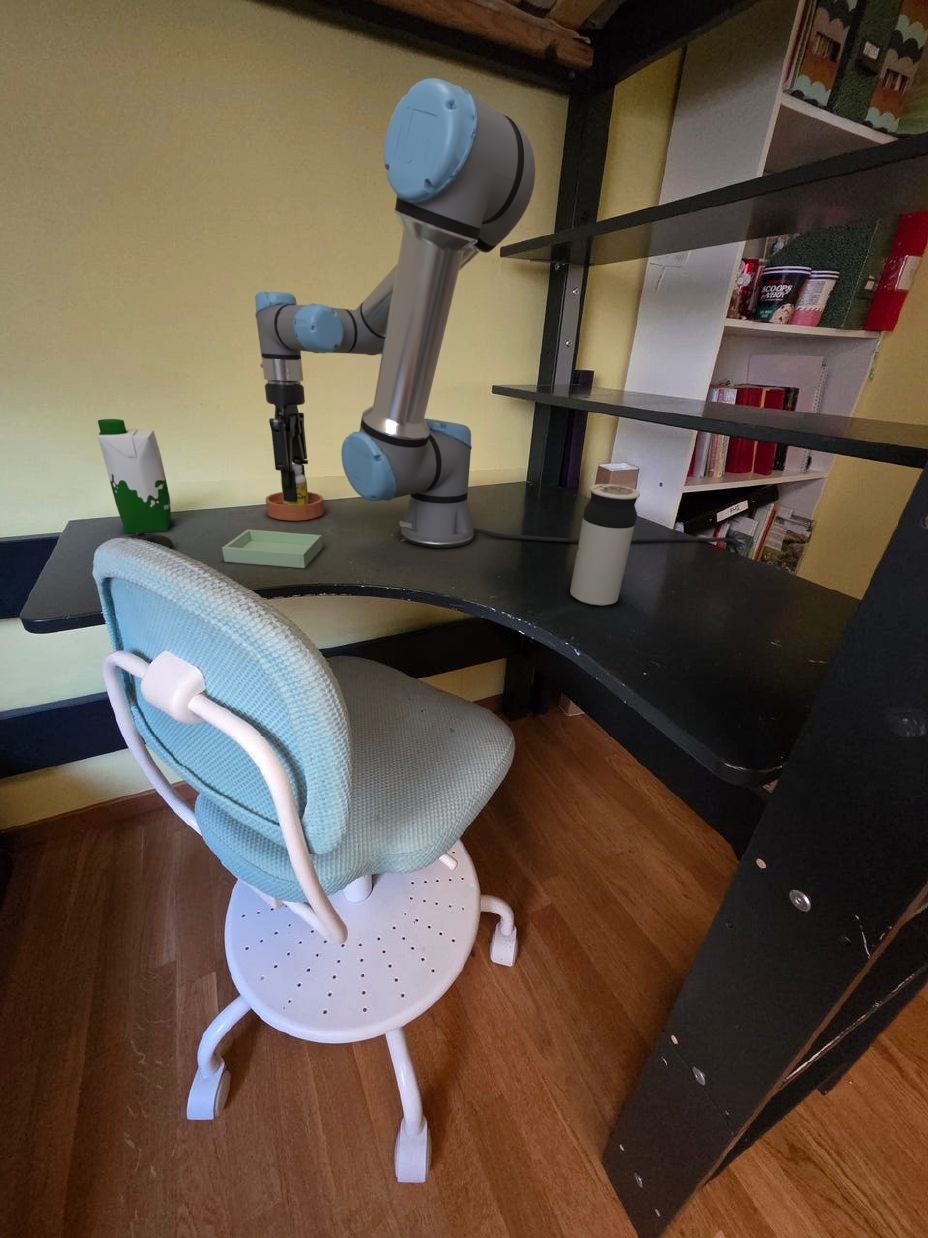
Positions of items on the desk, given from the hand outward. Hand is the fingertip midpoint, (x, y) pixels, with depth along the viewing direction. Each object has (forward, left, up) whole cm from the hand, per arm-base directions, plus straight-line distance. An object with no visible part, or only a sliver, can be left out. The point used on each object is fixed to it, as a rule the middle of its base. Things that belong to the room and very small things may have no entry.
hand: (295, 497), depth 114 cm
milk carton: (+24, +16, -4) cm, 29 cm away
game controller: (+17, +30, -4) cm, 35 cm away
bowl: (0, 0, -4) cm, 4 cm away
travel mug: (-62, +32, -4) cm, 70 cm away
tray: (-5, +25, -4) cm, 26 cm away
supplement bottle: (0, 0, -3) cm, 3 cm away
